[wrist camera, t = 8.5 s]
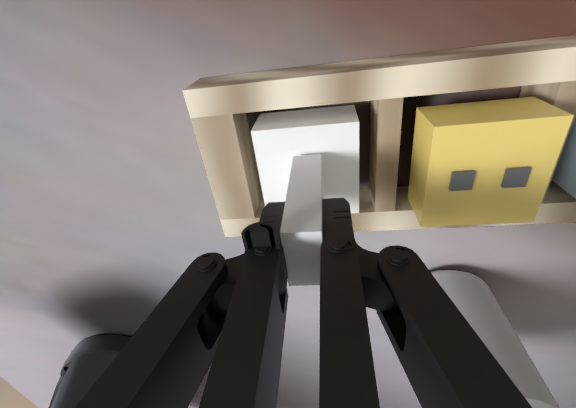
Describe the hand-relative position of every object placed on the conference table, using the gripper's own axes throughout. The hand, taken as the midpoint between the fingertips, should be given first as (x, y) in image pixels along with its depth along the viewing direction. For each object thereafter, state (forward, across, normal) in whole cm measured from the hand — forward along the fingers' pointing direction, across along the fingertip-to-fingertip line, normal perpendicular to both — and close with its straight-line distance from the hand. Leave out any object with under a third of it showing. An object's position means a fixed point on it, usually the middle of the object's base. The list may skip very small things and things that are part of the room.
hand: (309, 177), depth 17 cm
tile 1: (+3, 0, 0) cm, 3 cm away
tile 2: (+2, +9, 0) cm, 9 cm away
